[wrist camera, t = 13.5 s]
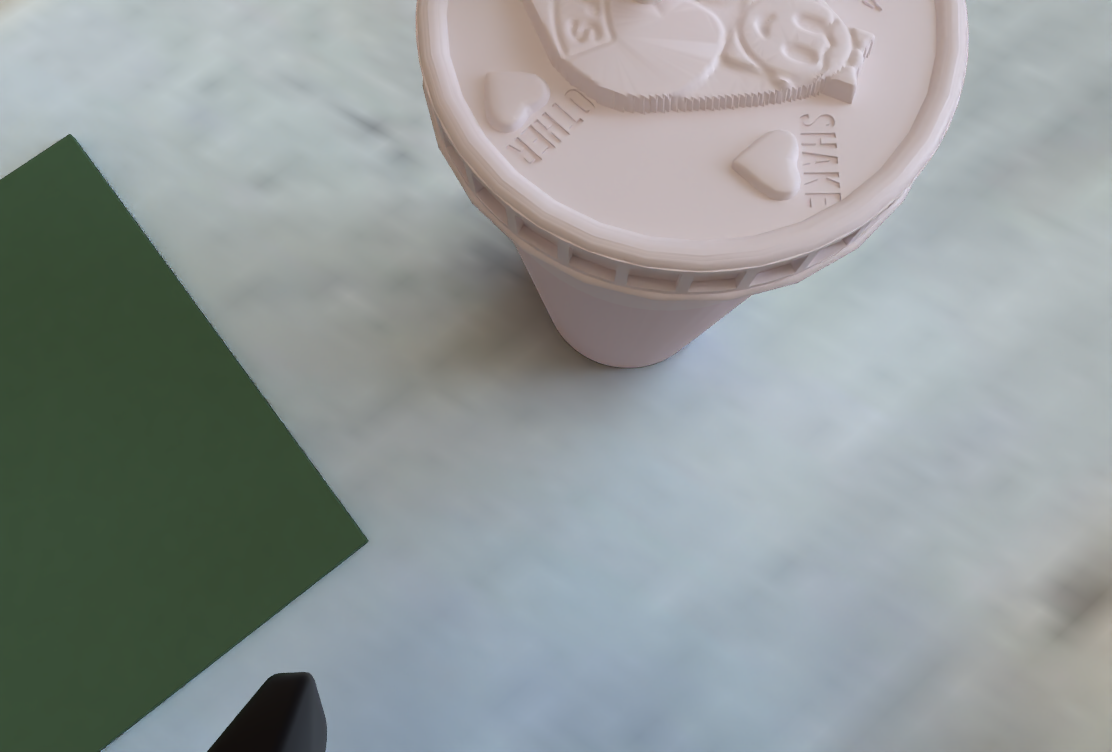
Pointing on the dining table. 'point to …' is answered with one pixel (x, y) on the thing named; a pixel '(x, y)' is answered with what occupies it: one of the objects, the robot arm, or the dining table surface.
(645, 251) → the smoothie
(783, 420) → the dining table surface
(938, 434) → the dining table surface
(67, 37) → the dining table surface
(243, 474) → the cloth
